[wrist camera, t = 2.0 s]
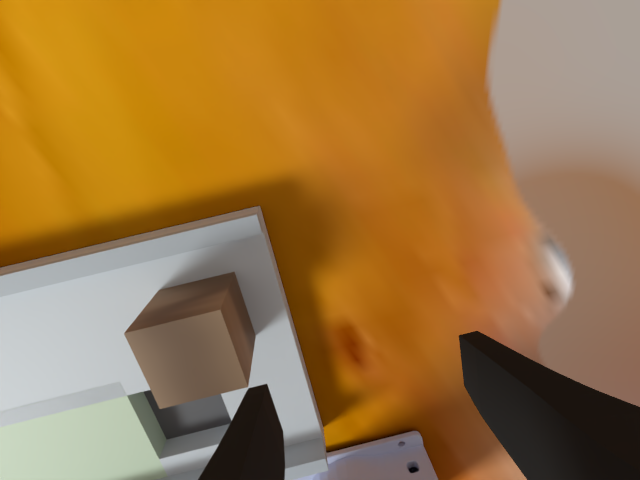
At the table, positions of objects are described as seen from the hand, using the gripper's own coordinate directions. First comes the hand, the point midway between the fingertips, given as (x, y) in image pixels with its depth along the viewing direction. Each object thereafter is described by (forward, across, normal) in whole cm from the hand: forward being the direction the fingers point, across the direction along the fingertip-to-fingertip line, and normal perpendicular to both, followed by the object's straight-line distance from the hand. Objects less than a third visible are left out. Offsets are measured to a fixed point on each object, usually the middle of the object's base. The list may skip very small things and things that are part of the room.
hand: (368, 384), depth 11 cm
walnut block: (+8, +7, 0) cm, 10 cm away
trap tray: (+9, +15, +3) cm, 18 cm away
